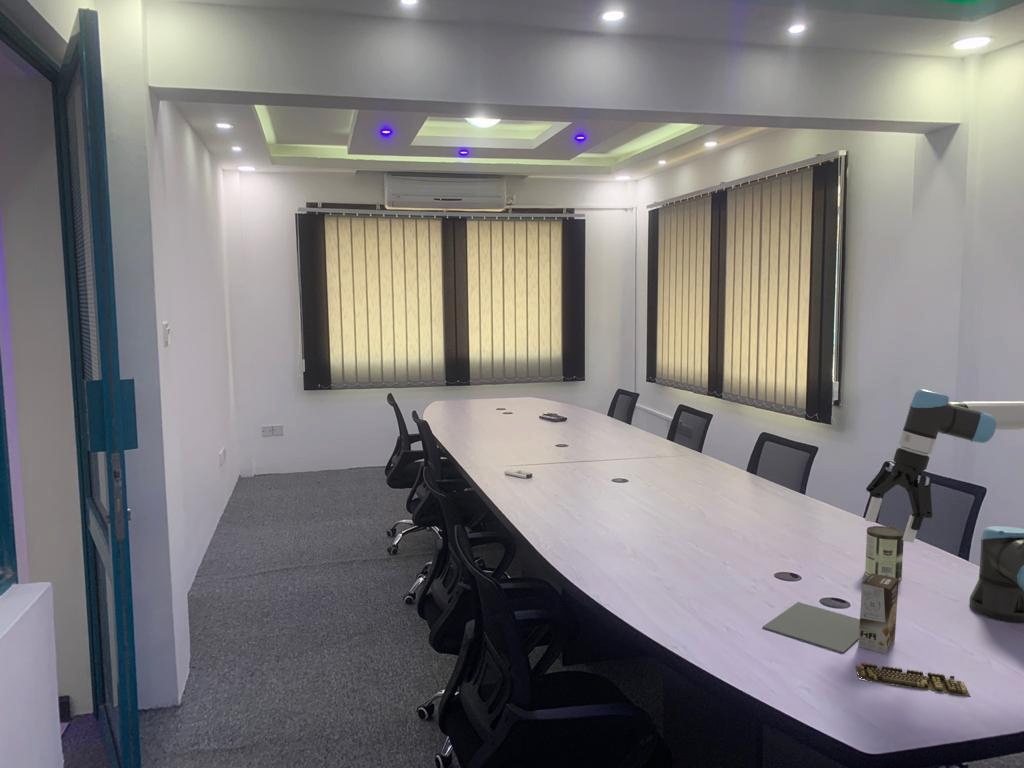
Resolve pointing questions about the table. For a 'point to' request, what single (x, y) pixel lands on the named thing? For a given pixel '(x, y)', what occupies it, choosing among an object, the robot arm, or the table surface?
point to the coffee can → (884, 551)
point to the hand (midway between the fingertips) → (888, 531)
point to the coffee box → (878, 612)
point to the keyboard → (912, 679)
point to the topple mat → (817, 627)
